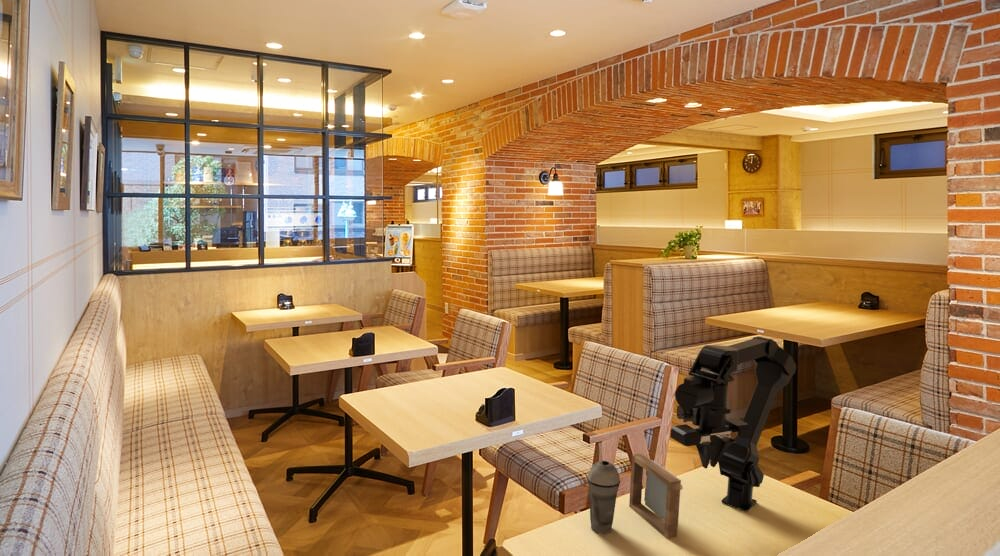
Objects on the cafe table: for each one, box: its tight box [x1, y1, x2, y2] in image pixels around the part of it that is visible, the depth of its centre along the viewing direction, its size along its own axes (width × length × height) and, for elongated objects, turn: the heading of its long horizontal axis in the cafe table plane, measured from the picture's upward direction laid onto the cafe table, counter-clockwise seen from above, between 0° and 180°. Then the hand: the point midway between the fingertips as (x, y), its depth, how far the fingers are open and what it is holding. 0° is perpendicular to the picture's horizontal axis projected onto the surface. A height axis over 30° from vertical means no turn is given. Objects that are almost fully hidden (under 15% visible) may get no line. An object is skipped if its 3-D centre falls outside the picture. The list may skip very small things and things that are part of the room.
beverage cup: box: [586, 441, 621, 535], centre depth 134 cm, size 7×7×20 cm
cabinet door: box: [644, 459, 683, 528], centre depth 139 cm, size 2×12×11 cm, turn 21°
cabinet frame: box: [628, 453, 681, 540], centre depth 139 cm, size 2×15×13 cm, turn 21°
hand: (708, 467), depth 140 cm, fingers closed
